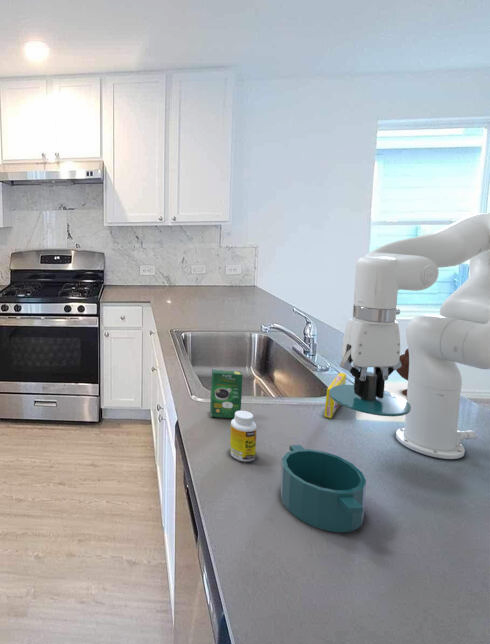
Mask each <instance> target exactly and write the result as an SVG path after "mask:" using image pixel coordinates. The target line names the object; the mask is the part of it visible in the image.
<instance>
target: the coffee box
mask: <svg viewBox="0 0 490 644" xmlns="http://www.w3.org/2000/svg"><path fill="white" fill-rule="evenodd" d="M243 376H244V375H243V373H242V372H241V371H240V370H226V369H225V370H224V369H211V385H210V402H209V403H210V404H209V414H210V417H211V418H217V419H220V418H221V419H222V418H223V419H231V420H233V419H234V417H235V412H236V411H242V399H243V398H242V396H243V378H244V377H243Z"/></svg>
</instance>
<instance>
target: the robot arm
mask: <svg viewBox="0 0 490 644" xmlns="http://www.w3.org/2000/svg"><path fill="white" fill-rule="evenodd" d="M467 261H469V275H468V276H469V277H468V278H467V279H466V280H465V281H464V282H463V283H462V284H460V285H459V286H458V288H457V289H455V291H453V292H452V293H451V294H450V295H449V296H448V297H447V298H446V299H444V301H443V302H442V303H441V305H440V308H439V314H430V313H429V314H428V313H427V314H420V315H417V316H415V317H413V318H412V319H411V320H410V321H409V322H408V324H407V326H406V330H405V337H406V345H407V349H408V350H409V375H408V380H407V388H406V389H407V396H406V401H407V402H408V403H409V404H410V406H411V411H410V412H409V413H408V414H406V415H404V426H403V427H400V428H398V429H397V430H396V431H395V438H396V440H397V441H398V442H399V443H400V444H402V445H403V446H404V447H406V448H407V449H410V450H412V451H414V452H416V453H418V454H422V455H425V456H428V457H431V458H432V457H433V458H437V459H443V460H456V459H461V458H462V457H464V456H465V452H466V451H465V450H466V449H465V446H464V445H462V443H461V442H463V441H464V440H476V439H477V434H476V433H475V431H473V430H461V429H460V427H458V425H459V415H460V405H461V392H462V385H463V380H462V375H461V372H460V370H459V367H458V365H457V364H461V365H464V366H467V367H471V368H475V369H480V370H490V212H484V213H483V212H482V213H481V212H480V213H475V214H471V215H468V216H465V217H463V218H461V219H459V220H457V221H454V222H453V223H451V224H449V225H447V226H446V227H443V228H441V229H439V230H437V231H435V232H431V233H426V234H421V235H417V236H414V237H409V238H405V239H401V240H396V241H392V242H389V243H387V244H384V245H382V246H379V247H377V248H376V249H373V250H371V251H370V252H368V253H367V254H366V255H364V256H362V257H360V258H358V259H357V261H356V264H355V273H354V274H355V275H354V276H355V277H354V293H353V306H352V318H351V317H350V318H348V320H347V323H346V327H345V329H344V334H343V339H342V347H341V361H340V363H339V367H340V368H342V369H343V370H346V371H347V372H349V373H350V374H351V376H352V377H354V382H353V385H354V392H355V394H356V395H358V396H360V397H361V398H363V399H366V398H367V394H368V381H366V374H367V372H368V368H373V373H375V374H377V375H378V380H377V394H376V396H377V397H378V398H383V394H384V391H385V384H386V383H385V382H386V381H388V380H389V376H390V375H391V374H393V373H394V371H396V369H398V368H400V367H401V366H402V364H401V362H400V360H399V358H400V355H401V334H400V333H401V332H400V327H399V322H398V321H397V320H396V319H397V316H398V315H400V314H401V309H400V308H398V307H397V306H398V305H397V304H398V293H399V290H401V291H412V292H414V291H415V292H419V291H424V290H426V289H429V288H431V287H432V286H433V285H434V284H435V283H436V282H437V280H438V278H439V275H440V274H439V273H440V272H439V271H440V270H439V268H449V267H456V266H458V265H461V264H464V263H465V262H467Z"/></svg>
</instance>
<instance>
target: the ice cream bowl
mask: <svg viewBox="0 0 490 644" xmlns="http://www.w3.org/2000/svg"><path fill="white" fill-rule="evenodd" d="M399 360H400V362H401V364H402V366H401V367H400V368H398V369H396V370H395V371H396V372H397V374H398V375H399V376H400V377H401V378H402V379H404V380H405V381H408V375H409V350H408V348H407V349H405V351H404V353H403V354H400V358H399ZM401 393H402V395H404V396H406V397H407V388H406V389H403V390H402V391H401Z"/></svg>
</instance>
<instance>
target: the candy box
mask: <svg viewBox="0 0 490 644" xmlns="http://www.w3.org/2000/svg"><path fill="white" fill-rule="evenodd" d="M346 382H347V374H346V373H345V372H344V373H343V372H339V373H338V374H337V375H336V376H335V378H334V379H333V380H332V382H331V383H330V385H329V386H328V387H327V388H326V395H325V405H324V414H323V415H324V418H326V419H332V418H333V416H334V414H335V413H336V412H337V410H338V408H339V407H340V406H341V404H339V403H337V402H336V401H334V400H333V399H332V398H331V397H330V394H329V391H330V389H331V388H332V387H335V386H339V385H346Z"/></svg>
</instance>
